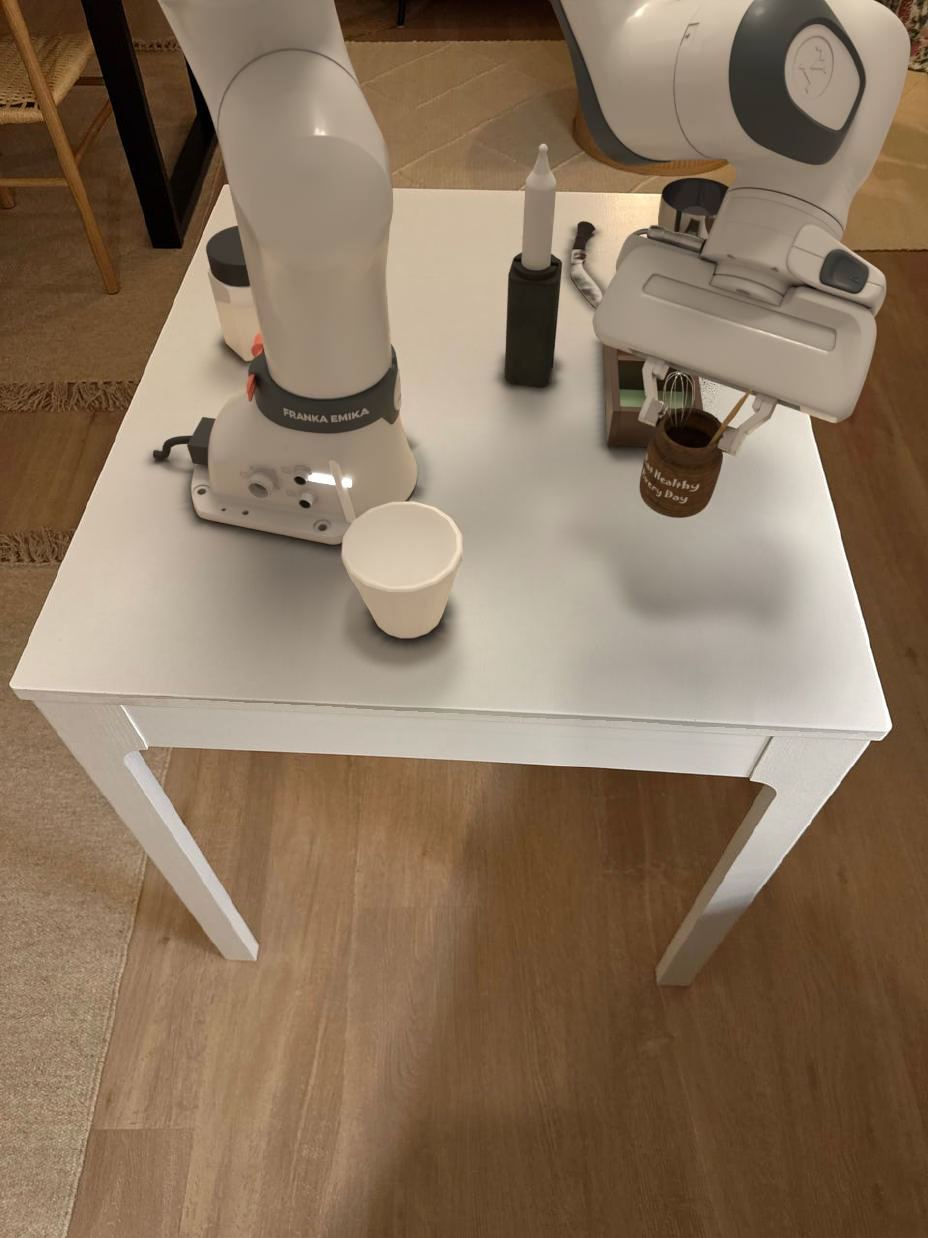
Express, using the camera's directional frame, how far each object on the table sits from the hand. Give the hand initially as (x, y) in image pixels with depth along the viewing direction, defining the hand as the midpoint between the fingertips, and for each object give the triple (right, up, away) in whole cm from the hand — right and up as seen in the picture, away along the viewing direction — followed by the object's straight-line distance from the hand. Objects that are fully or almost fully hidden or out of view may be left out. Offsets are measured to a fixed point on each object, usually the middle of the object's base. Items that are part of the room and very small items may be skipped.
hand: (687, 438), depth 68 cm
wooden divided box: (+3, +11, +31) cm, 33 cm away
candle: (-10, +14, +34) cm, 38 cm away
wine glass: (+8, +22, +39) cm, 46 cm away
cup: (-22, -13, +13) cm, 29 cm away
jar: (-40, +19, +37) cm, 58 cm away
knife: (-1, +30, +46) cm, 55 cm away
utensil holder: (0, -4, +6) cm, 7 cm away
